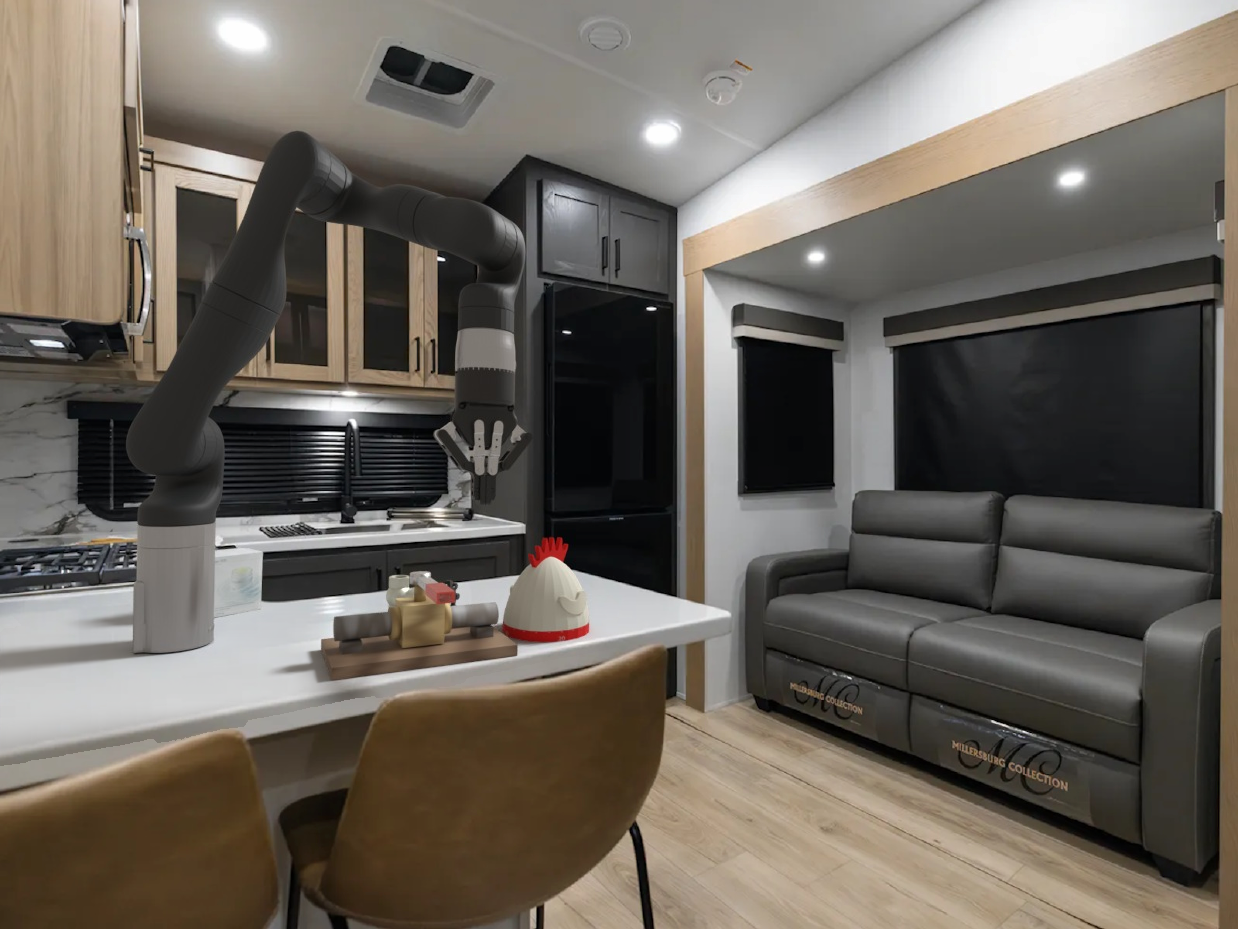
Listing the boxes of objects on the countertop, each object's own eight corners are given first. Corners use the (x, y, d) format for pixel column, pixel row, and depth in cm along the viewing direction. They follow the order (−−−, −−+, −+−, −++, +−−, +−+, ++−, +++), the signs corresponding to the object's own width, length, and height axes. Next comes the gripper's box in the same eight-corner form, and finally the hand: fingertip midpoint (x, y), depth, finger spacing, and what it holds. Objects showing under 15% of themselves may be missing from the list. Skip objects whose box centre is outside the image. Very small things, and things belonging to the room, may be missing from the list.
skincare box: (199, 621, 106) (200, 557, 106) (179, 615, 109) (180, 553, 109) (263, 609, 115) (264, 550, 115) (242, 604, 118) (243, 546, 118)
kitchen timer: (606, 630, 107) (608, 538, 106) (545, 648, 96) (548, 545, 96) (546, 615, 115) (548, 530, 115) (484, 630, 105) (486, 536, 105)
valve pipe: (331, 680, 80) (332, 602, 80) (321, 649, 92) (322, 582, 92) (517, 655, 92) (518, 587, 92) (486, 631, 104) (487, 571, 104)
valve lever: (408, 582, 92) (408, 572, 92) (428, 580, 94) (428, 570, 94) (434, 604, 79) (434, 593, 79) (457, 602, 80) (457, 591, 80)
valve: (376, 618, 111) (441, 623, 108) (377, 579, 111) (441, 583, 108) (398, 609, 118) (459, 614, 115) (399, 572, 118) (460, 577, 115)
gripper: (523, 375, 90) (521, 501, 90) (426, 367, 84) (423, 503, 84) (545, 370, 84) (542, 505, 84) (440, 360, 77) (437, 507, 77)
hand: (482, 504), depth 84 cm, fingers closed
